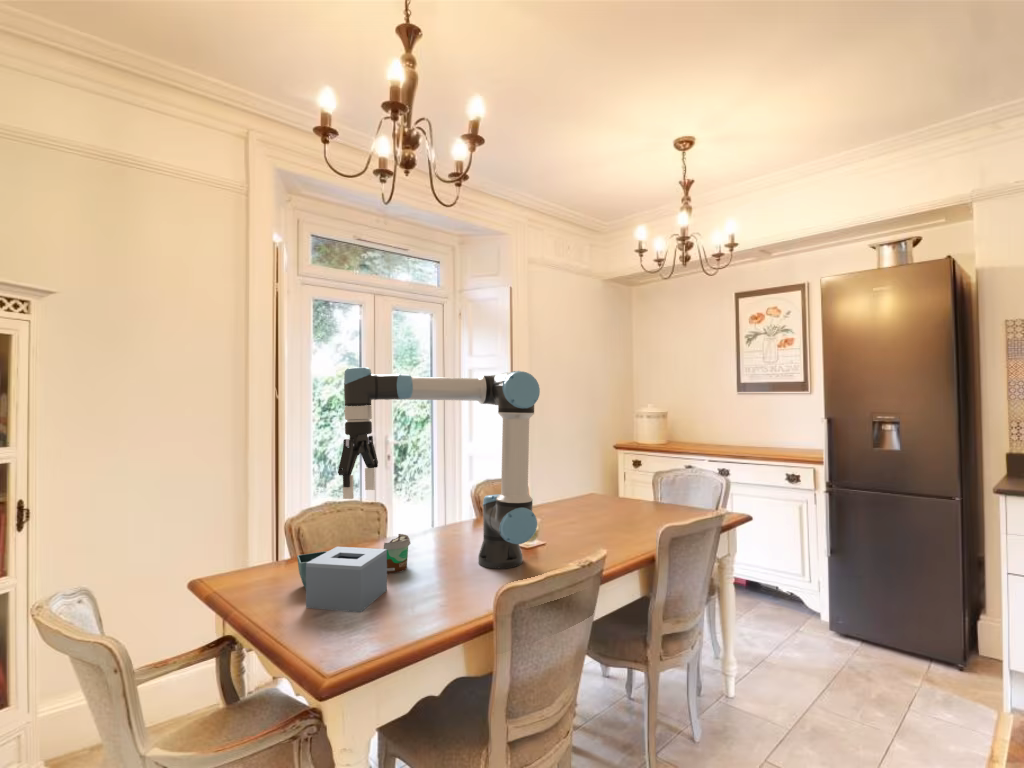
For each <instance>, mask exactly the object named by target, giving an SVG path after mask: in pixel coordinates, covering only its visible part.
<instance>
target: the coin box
mask: <svg viewBox="0 0 1024 768" xmlns="http://www.w3.org/2000/svg"><path fill="white" fill-rule="evenodd" d="M387 591H388V573H387V549H384V548H371V547H369V548H368V547H351V546H335V547H334V548H332V549H330V550H328V551H327V552H326V553H324V554H322V555H320V556H318V557H316V558H315V559H313V560H311V561H309V562H307V563H306V589H305V608H306V609H317V610H327V611H328V610H329V611H342V612H343V611H344V612H354V613H362V612H363V611H364V610H365V609H367V607H369V606H370V605H371V604H372V603H374V602H375V601H376V600H377V599H379V597H381V596H382V595H383V594H384V593H386V592H387Z"/></svg>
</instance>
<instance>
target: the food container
mask: <svg viewBox="0 0 1024 768" xmlns="http://www.w3.org/2000/svg"><path fill="white" fill-rule="evenodd" d="M410 545H411V539H410V537H409V535H407V534H403V533H398V537H397V536H396V538H393V539H391V540H389V542H384V543H383V549H387V574H396V573H400V572H403V571H405V570H407V569H408V557H409V546H410Z"/></svg>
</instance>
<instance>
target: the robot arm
mask: <svg viewBox="0 0 1024 768" xmlns="http://www.w3.org/2000/svg"><path fill="white" fill-rule="evenodd" d="M343 374H344V378H343V379H344V380H343V391H344V410H343V413H344V420H345V423H344V433H345V435H347V436H349V438H344V439H343V443H342V451H341V455H340V459H339V464H338V465H339V466H338V468H337V469H338V470H337V473H338V476H342V499H343V500H353V499H354V498H355V497H354V474H352V473H353V470H354V467H355V465H356V461H357V458H358V456H361V458H362V460H363V462H364V464H365V467H366V468H364V482H365V483H364V485H365V491H375V490H376V489H375V488H376V483H375V482H376V481H375V480H376V478H375V468H376V469H377V468H378V467H379V461H378V456H377V454H376V453H377V452H376V448H375V444H374V437H373V435H370V434H372V433H373V425H372V422H373V421H371V420H372V419H373V411H372V410H373V409H372V401H379V400H386V401H389V400H394V401H395V400H400V401H403V400H405V401H406V400H410V401H411V400H413V401H414V400H417V401H418V400H419V401H420V400H421V401H469V402H471V401H473V402H474V401H475V402H479V404H481V405H483V404H484V405H486V404H487V405H495V406H498V407H497V409H498V410H497V411H498V412H497V414H499V415H500V417H501V418H502V437H501V438H502V441H501V443H502V444H501V445H502V446H501V483H500V484H501V486H500V487H501V489H500V490H501V491H500V494H499V493H498V494H488V495H485V496H484V497H483V502H482V507H483V509H482V511H483V512H482V514H483V515H482V516H483V520H482V522H483V523H482V524H483V526H482V527H483V533H482V534H483V540H482V542H481V543H482V544H481V546H480V550H479V553H478V559H477V560H478V564H479V565H480V566H481V567H485V568H487V569H488V568H489V569H499V570H500V569H510V568H515V567H518V566H520V565H522V564H523V560H524V558H523V553H522V549H521V546H520V545H522V544H524V543H527V542H528V541H530V539H532V538H533V537H534V535H535V533H536V532H537V528H538V519H537V516H536V514H535V513H534V512H533V498H532V496H531V495H530V494H529V461H530V460H529V453H530V452H529V451H530V419H531V418H532V417H533V416H534V415H535V405H536V403H537V402H538V400H539V398H540V395H541V394H540V393H541V391H540V390H541V388H540V385H539V382H538V380H537V379H536V378H535V377H534V376H533V375H532V374H531V373H529V372H526V371H521V370H513V371H510V372H504V373H499V374H493V375H480V377H478V378H477V377H476V378H475V377H473V378H471V377H469V378H467V377H438V376H437V377H434V376H433V377H431V376H428V377H427V376H411V375H410V374H408V373H407V374H405V373H394V374H393V373H390V374H376V373H375V374H374V373H372V370H371V368H369V367H348V368H346V369H345V370H344V373H343Z"/></svg>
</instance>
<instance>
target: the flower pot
mask: <svg viewBox="0 0 1024 768" xmlns="http://www.w3.org/2000/svg"><path fill="white" fill-rule="evenodd" d="M326 552H328V551H327V550H324V551H318V552H310V553H302V554H298V555H296V559H297V566H298V573H299V577H300V579H301V583H302V585H303V587H304V588H305V590H306V563H307V562H309V561H311V560H313V559H315V558H316V557H318V556H320V555H322V554H324V553H326Z"/></svg>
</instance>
